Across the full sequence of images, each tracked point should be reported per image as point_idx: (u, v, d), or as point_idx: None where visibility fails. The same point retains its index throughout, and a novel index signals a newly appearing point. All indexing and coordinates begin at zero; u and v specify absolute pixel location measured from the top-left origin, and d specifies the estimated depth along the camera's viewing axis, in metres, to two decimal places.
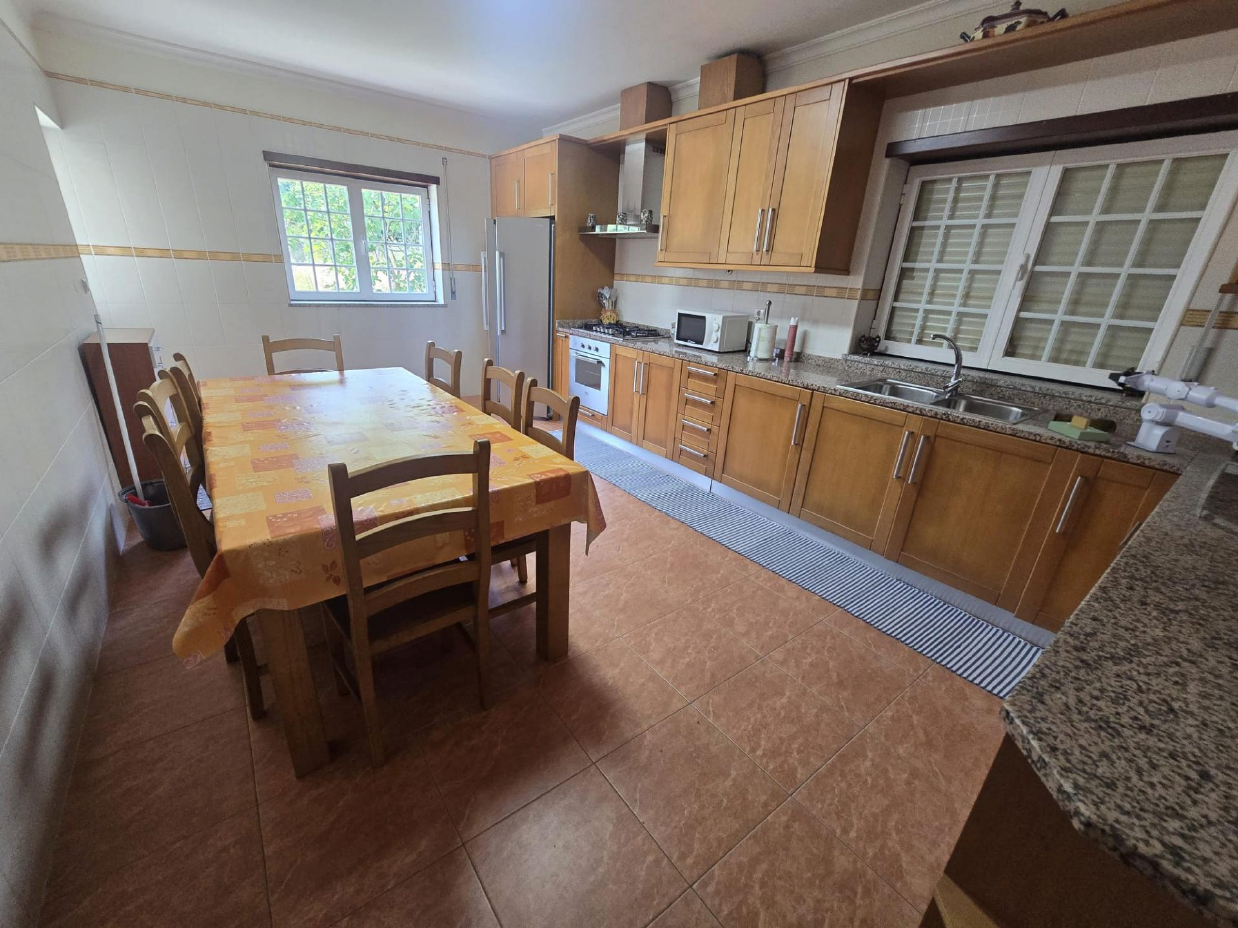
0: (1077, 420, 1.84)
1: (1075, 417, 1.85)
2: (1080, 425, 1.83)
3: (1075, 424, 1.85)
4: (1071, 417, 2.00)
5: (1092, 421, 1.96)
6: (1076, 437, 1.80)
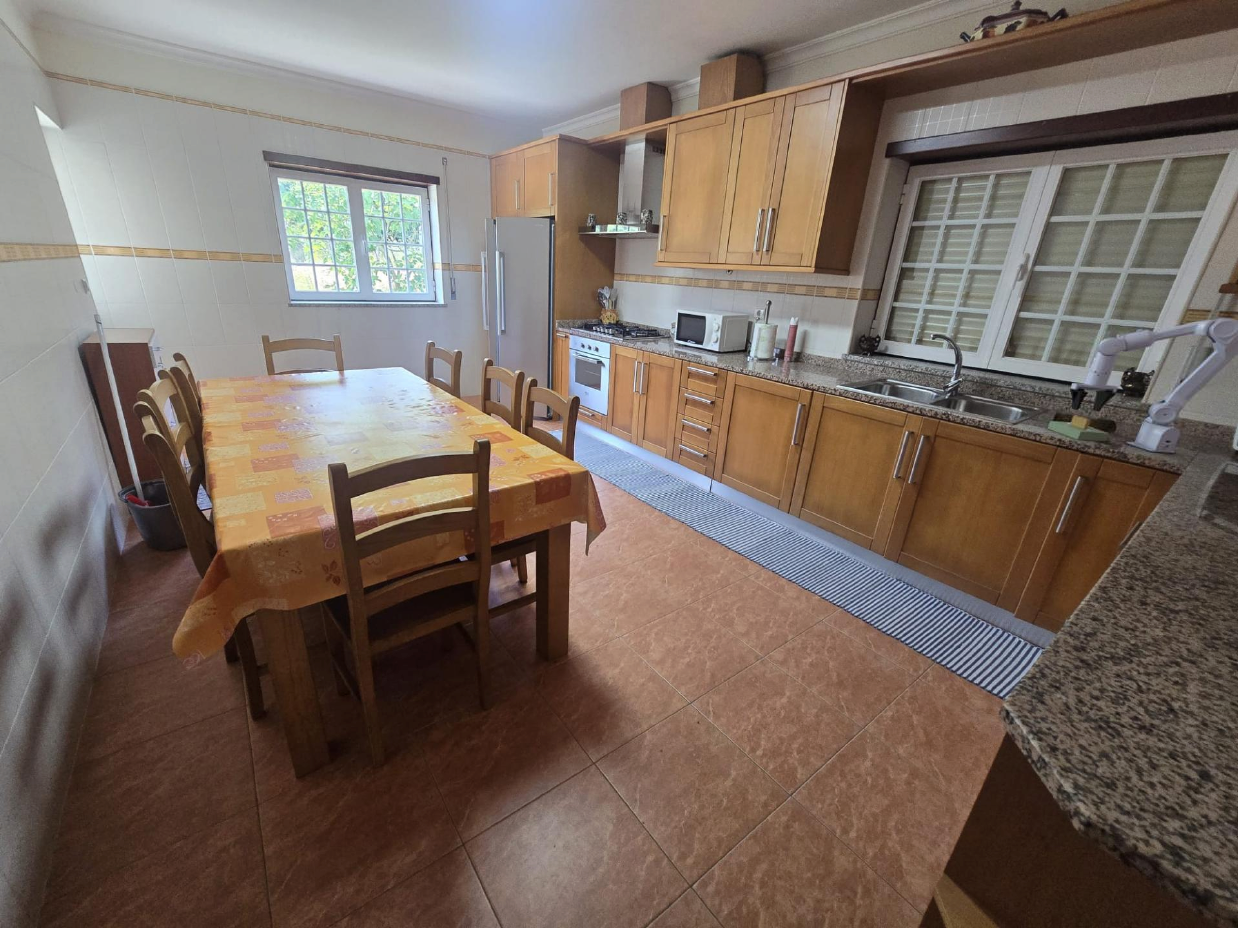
0: (1077, 420, 1.84)
1: (1075, 417, 1.85)
2: (1080, 425, 1.83)
3: (1075, 424, 1.85)
4: (1071, 417, 2.00)
5: (1092, 421, 1.96)
6: (1076, 437, 1.80)
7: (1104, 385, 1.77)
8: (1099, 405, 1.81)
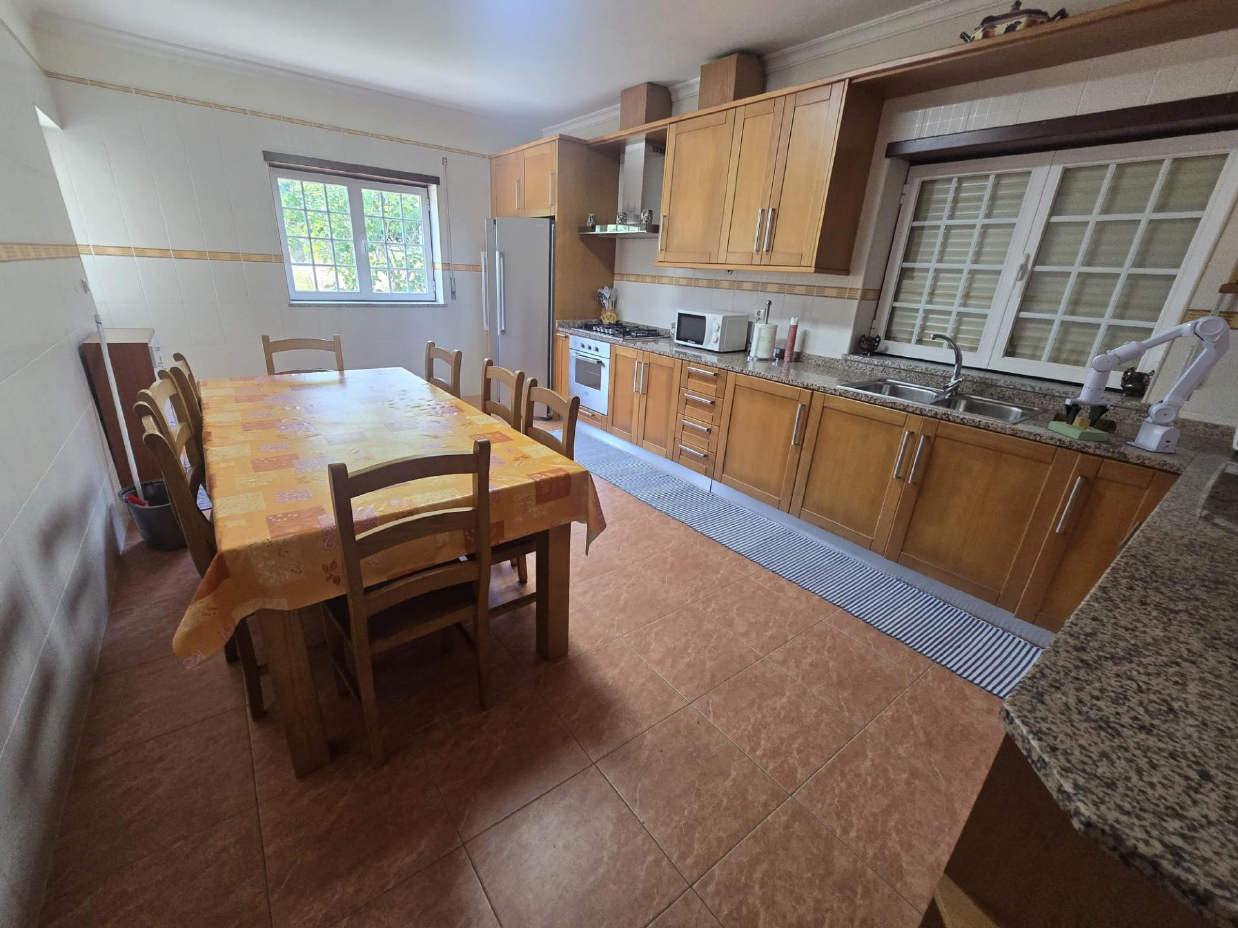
0: (1077, 420, 1.84)
1: None
2: (1080, 425, 1.83)
3: (1075, 424, 1.85)
4: None
5: None
6: (1076, 437, 1.80)
7: (1098, 401, 1.79)
8: (1093, 420, 1.83)
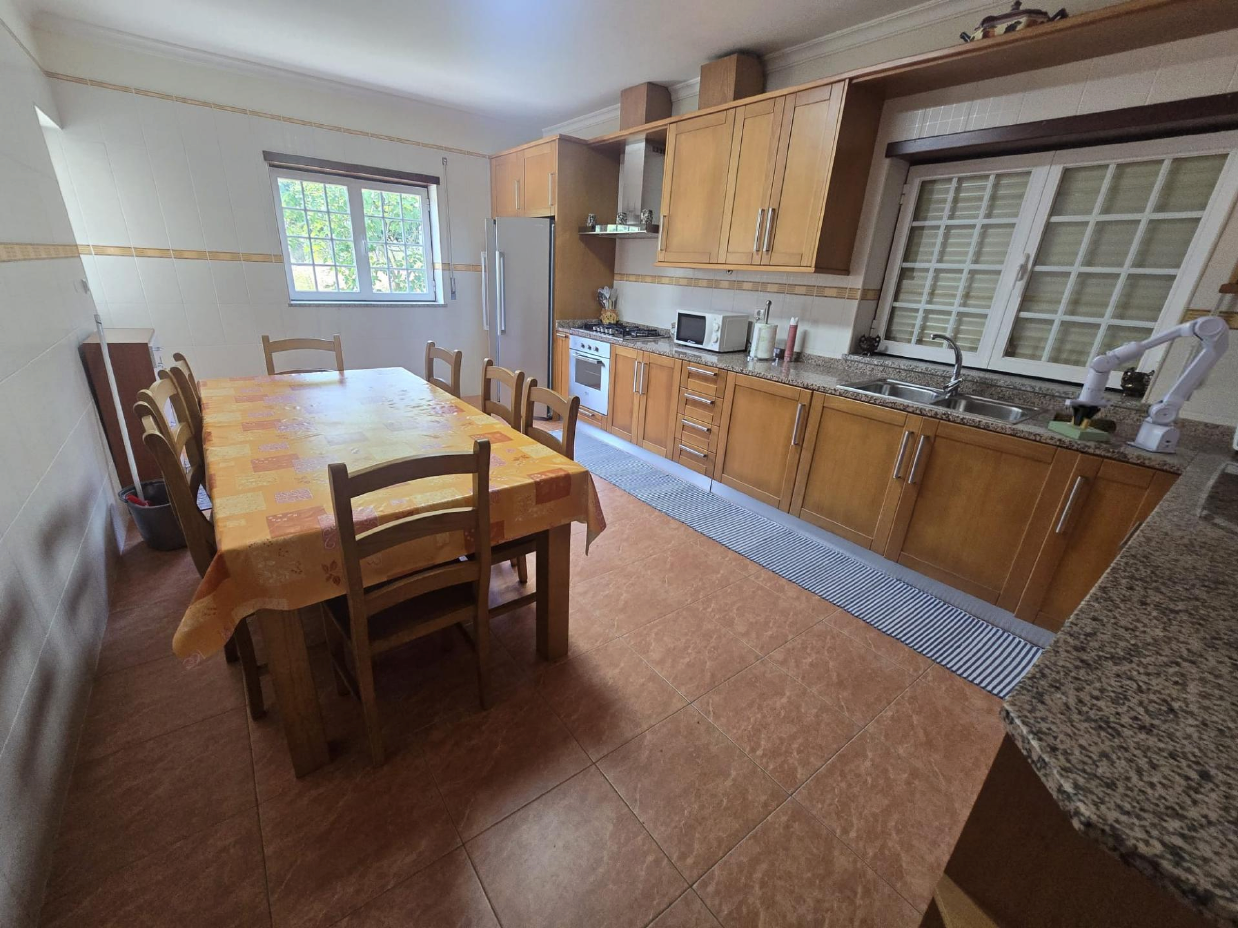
0: None
1: None
2: (1080, 425, 1.83)
3: None
4: (1071, 417, 2.00)
5: (1092, 421, 1.96)
6: (1076, 437, 1.80)
7: (1097, 401, 1.79)
8: None
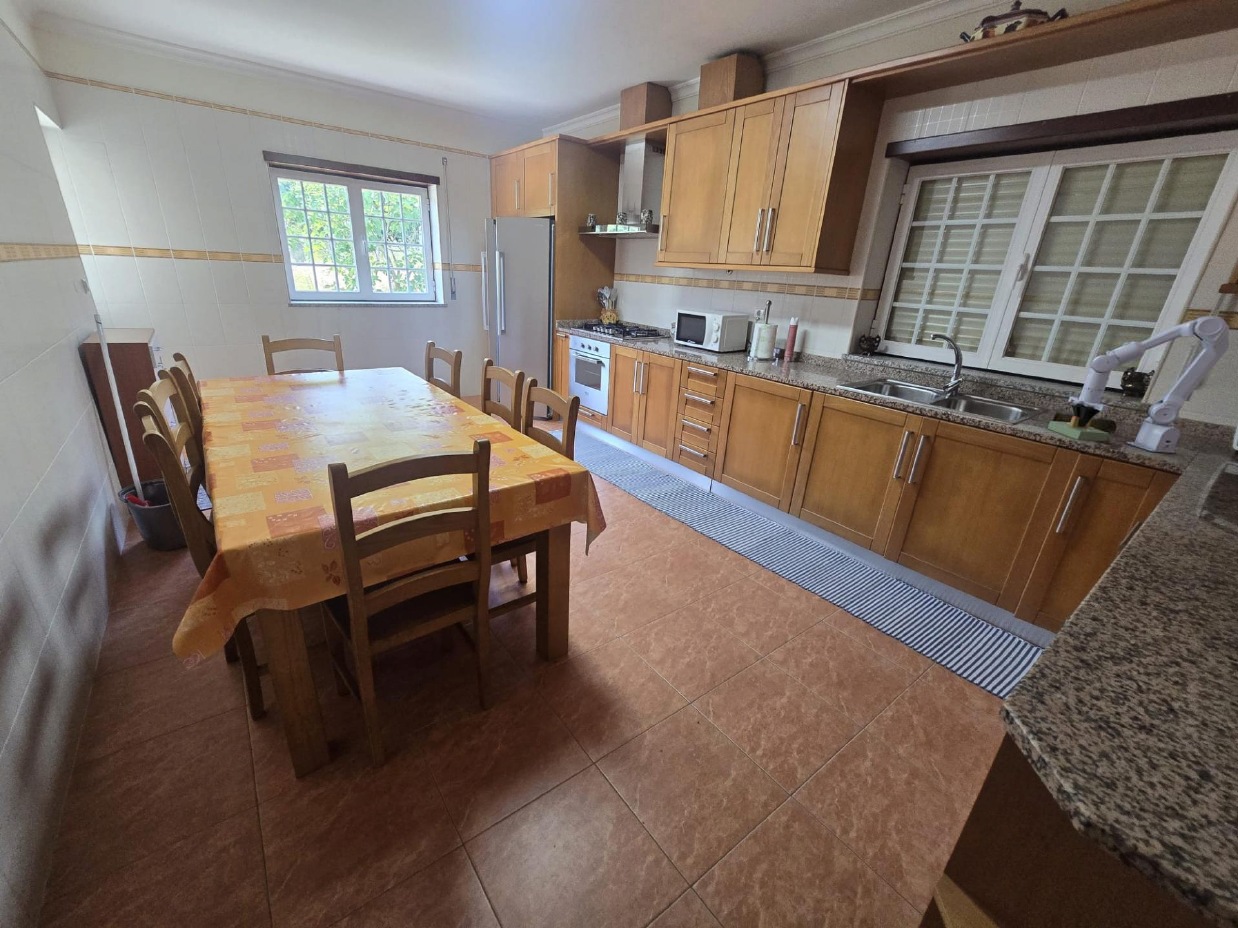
0: None
1: (1077, 419, 1.83)
2: None
3: None
4: (1071, 417, 2.00)
5: (1092, 421, 1.96)
6: (1076, 437, 1.80)
7: None
8: None
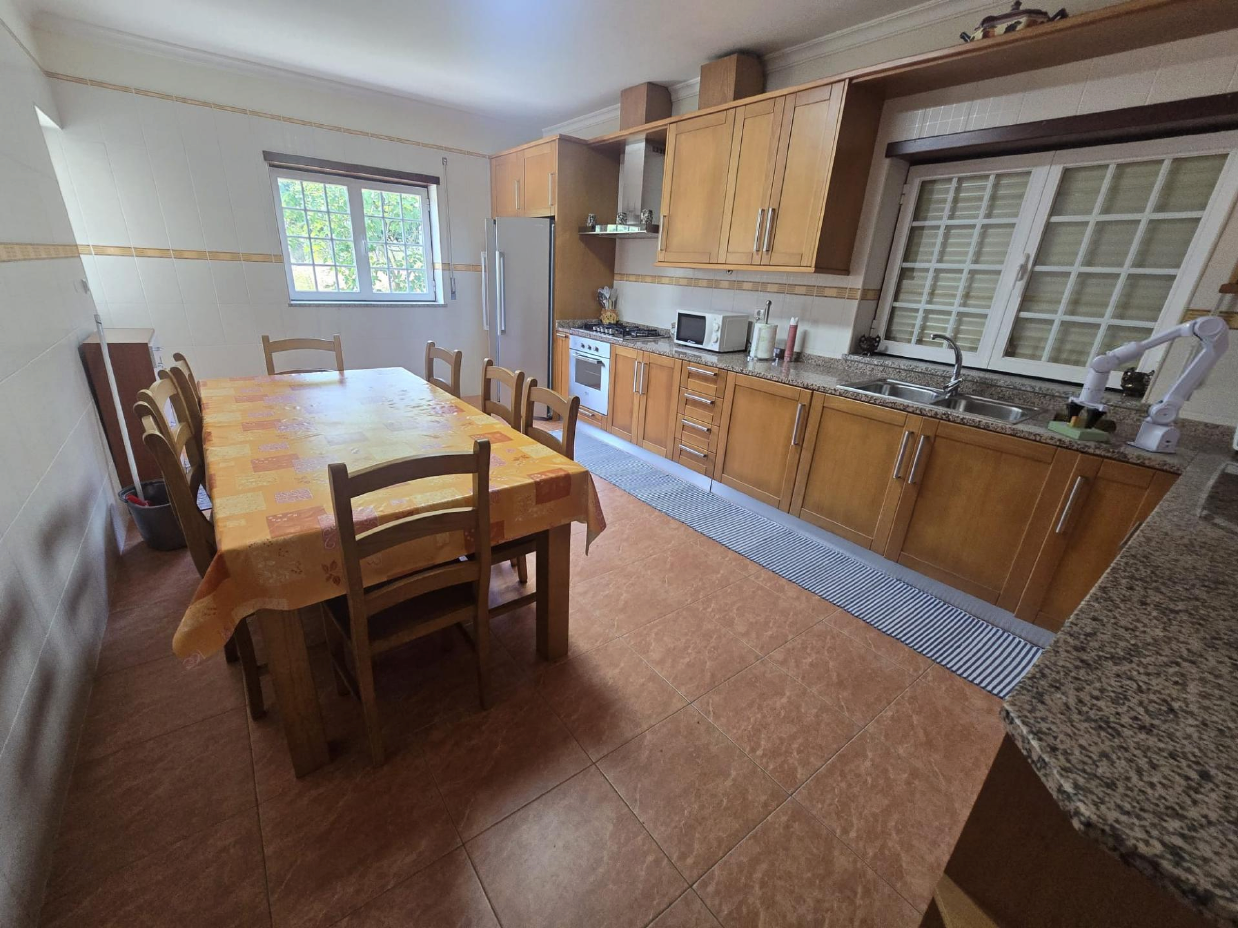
0: (1080, 421, 1.83)
1: (1077, 419, 1.83)
2: (1084, 425, 1.84)
3: (1078, 425, 1.84)
4: None
5: None
6: (1076, 437, 1.80)
7: None
8: None
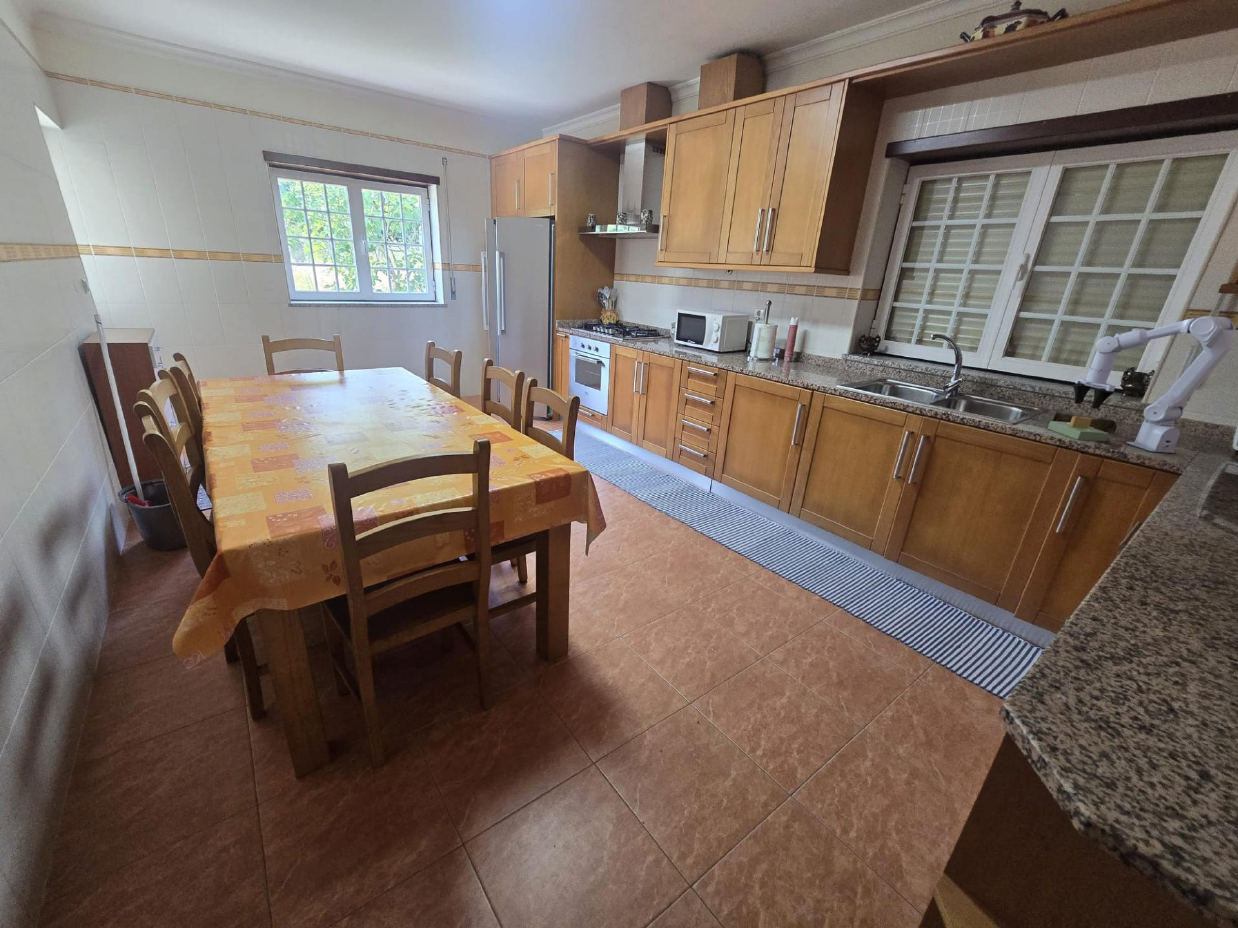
0: (1080, 421, 1.83)
1: (1077, 419, 1.83)
2: (1084, 425, 1.84)
3: (1078, 425, 1.84)
4: (1071, 417, 2.00)
5: (1092, 421, 1.96)
6: (1076, 437, 1.80)
7: None
8: (1082, 398, 1.92)
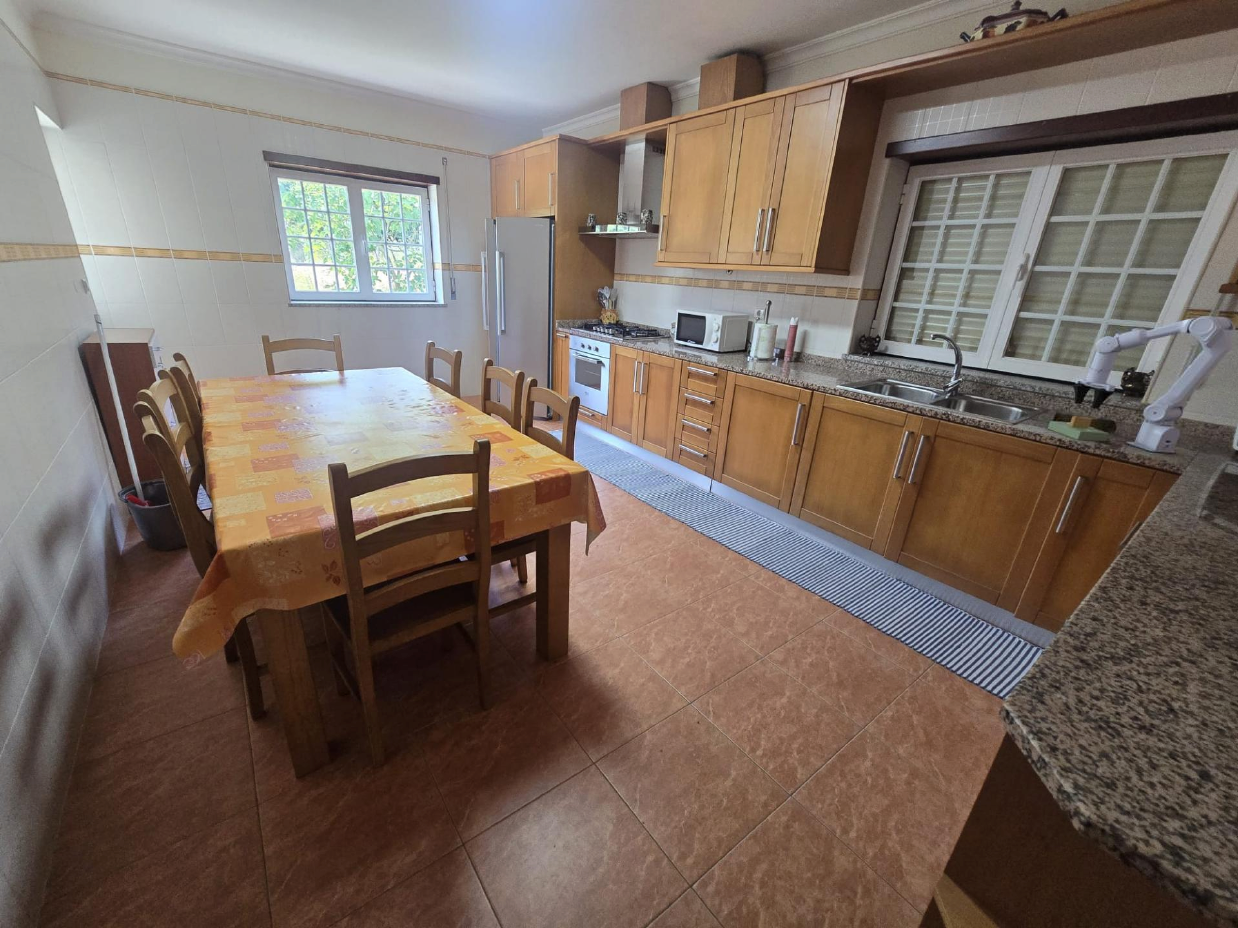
0: (1080, 421, 1.83)
1: (1077, 419, 1.83)
2: (1084, 425, 1.84)
3: (1078, 425, 1.84)
4: (1071, 417, 2.00)
5: (1092, 421, 1.96)
6: (1076, 437, 1.80)
7: None
8: (1082, 398, 1.92)
